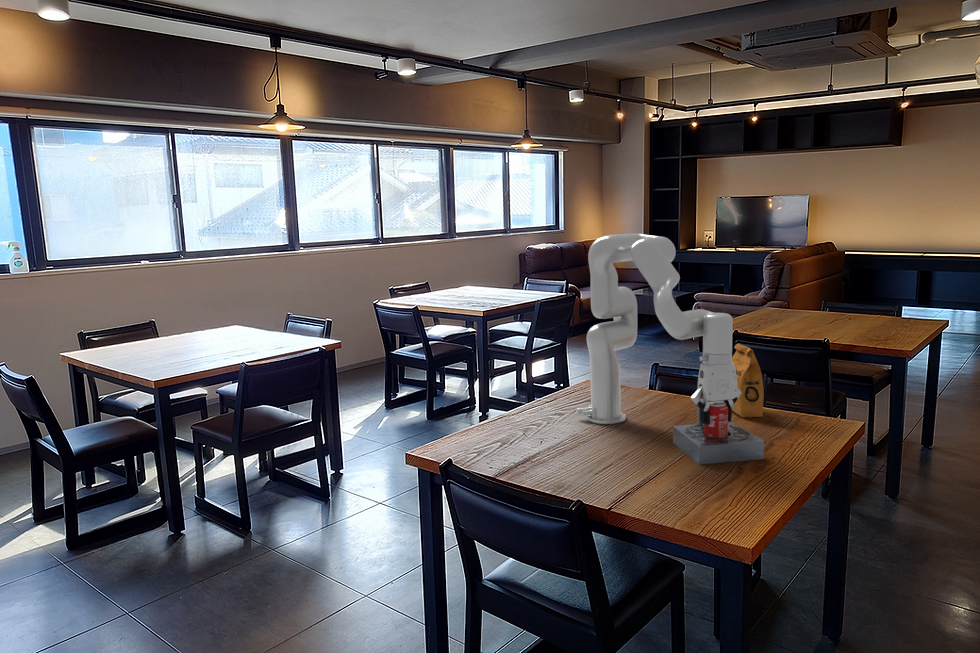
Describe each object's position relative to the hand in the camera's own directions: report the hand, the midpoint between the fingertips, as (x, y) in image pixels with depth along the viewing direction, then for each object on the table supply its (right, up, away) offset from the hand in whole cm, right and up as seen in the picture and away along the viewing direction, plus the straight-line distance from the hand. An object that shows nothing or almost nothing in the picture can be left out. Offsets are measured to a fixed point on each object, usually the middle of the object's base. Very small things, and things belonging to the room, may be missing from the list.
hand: (715, 421), depth 189 cm
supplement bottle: (+4, -5, +19) cm, 21 cm away
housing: (+1, -8, +1) cm, 8 cm away
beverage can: (0, -7, +1) cm, 7 cm away
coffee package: (+21, -2, +34) cm, 40 cm away
